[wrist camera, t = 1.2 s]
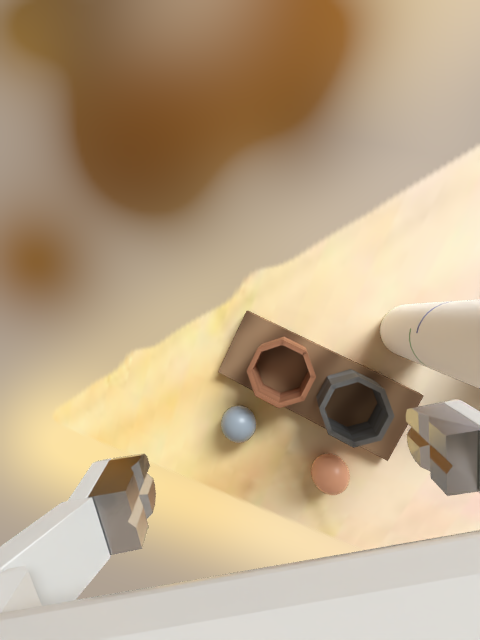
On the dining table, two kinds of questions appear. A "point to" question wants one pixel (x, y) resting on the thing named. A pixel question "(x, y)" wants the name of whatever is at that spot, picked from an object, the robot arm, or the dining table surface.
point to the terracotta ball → (330, 474)
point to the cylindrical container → (437, 337)
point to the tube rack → (319, 385)
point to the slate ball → (238, 424)
